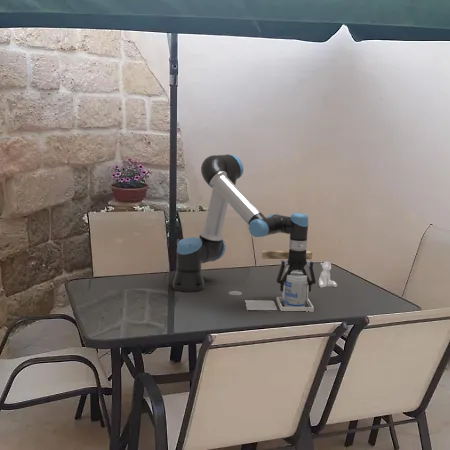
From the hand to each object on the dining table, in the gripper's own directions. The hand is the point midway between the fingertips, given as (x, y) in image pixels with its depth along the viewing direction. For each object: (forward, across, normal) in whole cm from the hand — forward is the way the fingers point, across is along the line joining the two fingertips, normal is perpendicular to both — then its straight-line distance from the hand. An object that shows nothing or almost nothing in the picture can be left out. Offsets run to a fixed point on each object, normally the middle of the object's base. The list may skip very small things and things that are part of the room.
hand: (294, 298), depth 265 cm
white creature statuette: (+4, +21, +34) cm, 40 cm away
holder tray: (+4, 0, 0) cm, 4 cm away
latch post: (+4, 0, +12) cm, 12 cm away
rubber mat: (+4, -15, 0) cm, 15 cm away
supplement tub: (+4, 0, 0) cm, 4 cm away
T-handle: (-11, -3, +11) cm, 16 cm away
